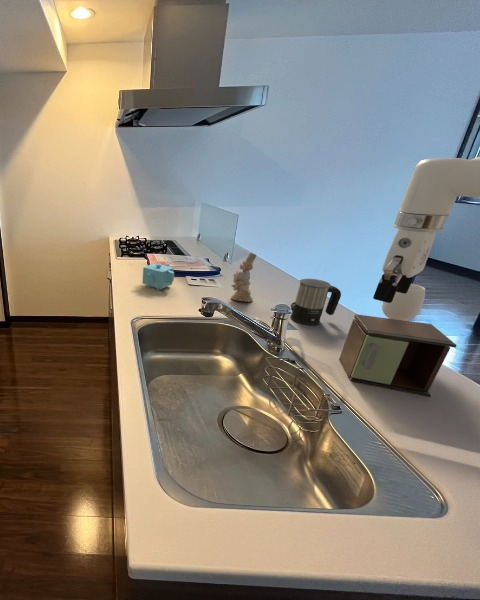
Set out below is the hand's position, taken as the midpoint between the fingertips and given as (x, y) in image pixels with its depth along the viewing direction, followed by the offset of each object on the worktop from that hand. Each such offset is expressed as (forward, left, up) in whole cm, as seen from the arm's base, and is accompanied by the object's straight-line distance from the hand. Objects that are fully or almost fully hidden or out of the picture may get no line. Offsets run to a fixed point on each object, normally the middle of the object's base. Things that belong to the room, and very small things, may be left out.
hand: (390, 296), depth 74 cm
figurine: (+27, -51, -26) cm, 63 cm away
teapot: (+63, -54, -26) cm, 87 cm away
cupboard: (-7, -7, -25) cm, 27 cm away
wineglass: (-13, -24, -26) cm, 38 cm away
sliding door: (-3, 0, -24) cm, 24 cm away
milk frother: (+5, -43, -26) cm, 50 cm away
